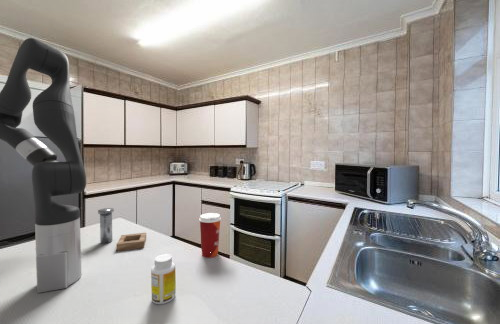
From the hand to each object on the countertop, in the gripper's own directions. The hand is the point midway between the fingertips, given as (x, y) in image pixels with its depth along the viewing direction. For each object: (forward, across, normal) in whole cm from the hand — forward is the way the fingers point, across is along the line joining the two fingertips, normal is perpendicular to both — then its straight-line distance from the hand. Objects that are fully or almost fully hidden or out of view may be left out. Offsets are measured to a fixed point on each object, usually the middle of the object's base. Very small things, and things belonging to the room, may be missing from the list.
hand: (72, 183), depth 83 cm
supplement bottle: (+46, -38, -13) cm, 61 cm away
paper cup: (+54, -17, -21) cm, 60 cm away
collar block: (+33, -4, 0) cm, 33 cm away
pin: (+25, 0, +8) cm, 26 cm away
